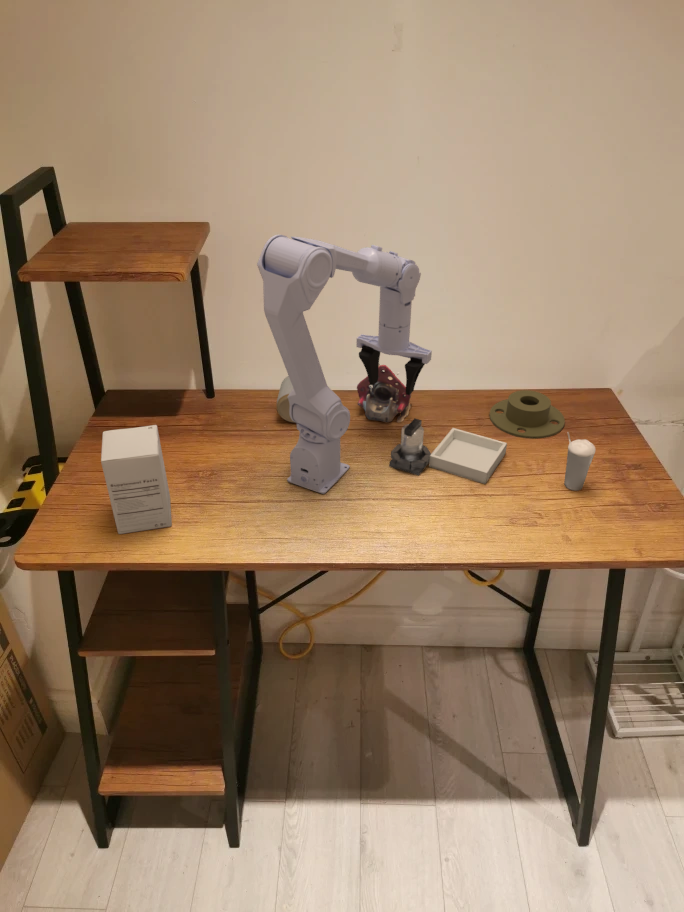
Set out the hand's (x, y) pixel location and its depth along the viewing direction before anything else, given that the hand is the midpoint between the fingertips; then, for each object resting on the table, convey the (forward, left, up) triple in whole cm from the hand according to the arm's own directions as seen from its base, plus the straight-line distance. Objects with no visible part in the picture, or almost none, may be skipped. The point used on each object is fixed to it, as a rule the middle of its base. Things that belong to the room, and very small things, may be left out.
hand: (391, 387), depth 138 cm
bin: (-2, -17, -10) cm, 20 cm away
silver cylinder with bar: (-8, -8, -9) cm, 15 cm away
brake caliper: (+6, +5, -10) cm, 13 cm away
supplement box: (-44, +25, -10) cm, 51 cm away
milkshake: (0, -36, -10) cm, 38 cm away
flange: (+18, -22, -11) cm, 31 cm away
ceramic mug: (-3, +18, -10) cm, 21 cm away
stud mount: (-8, -8, -10) cm, 15 cm away
